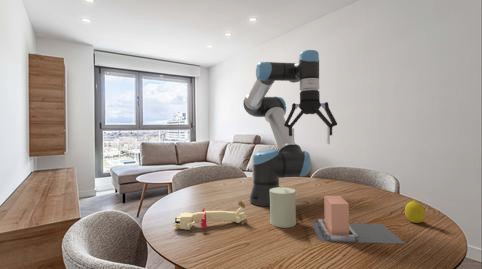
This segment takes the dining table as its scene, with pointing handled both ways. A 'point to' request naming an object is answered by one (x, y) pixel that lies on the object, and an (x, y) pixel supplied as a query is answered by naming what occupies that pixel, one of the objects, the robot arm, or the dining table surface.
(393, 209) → the dining table surface
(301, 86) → the robot arm
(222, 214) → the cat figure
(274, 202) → the can
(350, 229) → the pocket plate
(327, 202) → the terracotta block
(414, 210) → the lemon
